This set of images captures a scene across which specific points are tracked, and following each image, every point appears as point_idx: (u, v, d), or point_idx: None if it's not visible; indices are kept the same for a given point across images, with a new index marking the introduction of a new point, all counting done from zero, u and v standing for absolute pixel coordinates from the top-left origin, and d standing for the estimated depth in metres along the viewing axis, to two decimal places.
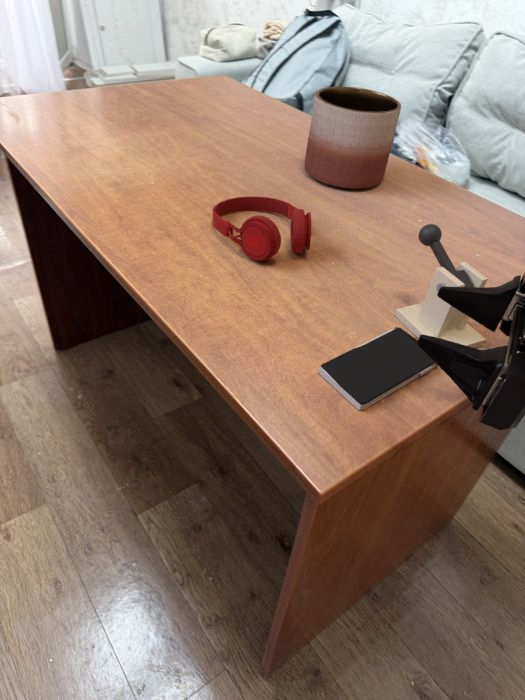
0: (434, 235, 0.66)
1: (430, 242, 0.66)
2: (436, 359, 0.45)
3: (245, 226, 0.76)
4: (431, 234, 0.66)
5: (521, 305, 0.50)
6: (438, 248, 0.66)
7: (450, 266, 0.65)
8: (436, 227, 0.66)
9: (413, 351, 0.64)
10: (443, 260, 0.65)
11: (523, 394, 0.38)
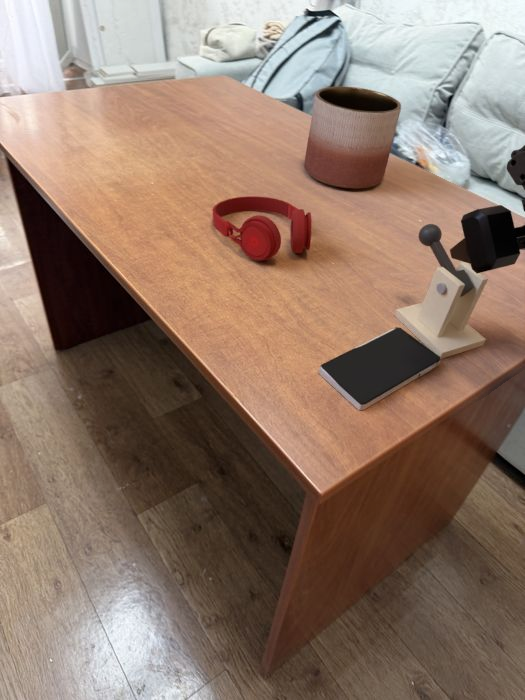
0: (434, 235, 0.66)
1: (430, 242, 0.66)
2: (462, 258, 0.56)
3: (245, 226, 0.76)
4: (431, 234, 0.66)
5: None
6: (438, 248, 0.66)
7: (450, 266, 0.65)
8: (436, 227, 0.66)
9: (413, 351, 0.64)
10: (443, 260, 0.65)
11: (474, 221, 0.48)
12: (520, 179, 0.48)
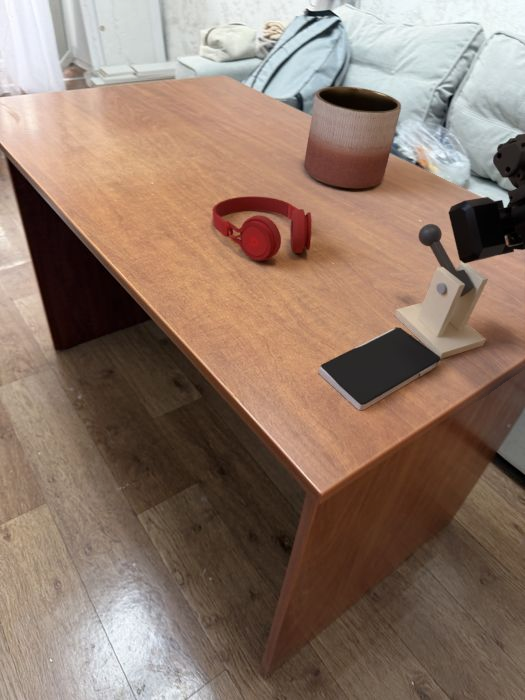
0: (434, 235, 0.66)
1: (430, 242, 0.66)
2: None
3: (245, 226, 0.76)
4: (431, 234, 0.66)
5: None
6: (438, 248, 0.66)
7: (450, 266, 0.65)
8: (436, 227, 0.66)
9: (413, 351, 0.64)
10: (443, 260, 0.65)
11: (461, 212, 0.50)
12: (506, 171, 0.50)
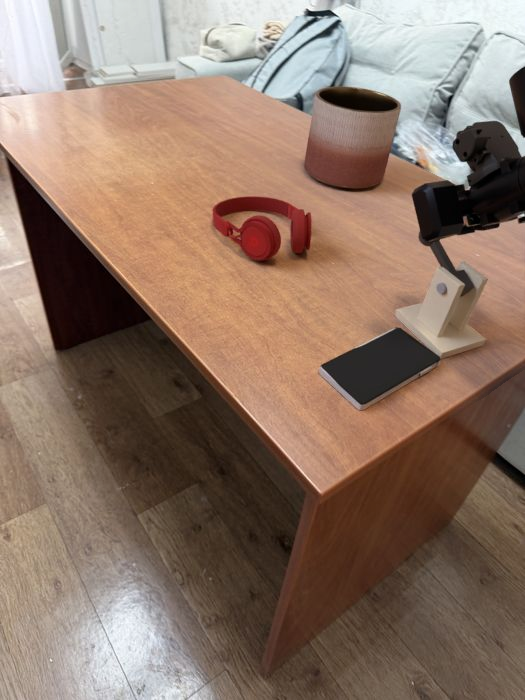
0: None
1: (430, 242, 0.66)
2: None
3: (245, 226, 0.76)
4: None
5: None
6: (438, 248, 0.66)
7: (450, 266, 0.65)
8: None
9: (413, 351, 0.64)
10: (443, 260, 0.65)
11: (422, 194, 0.54)
12: (463, 156, 0.54)
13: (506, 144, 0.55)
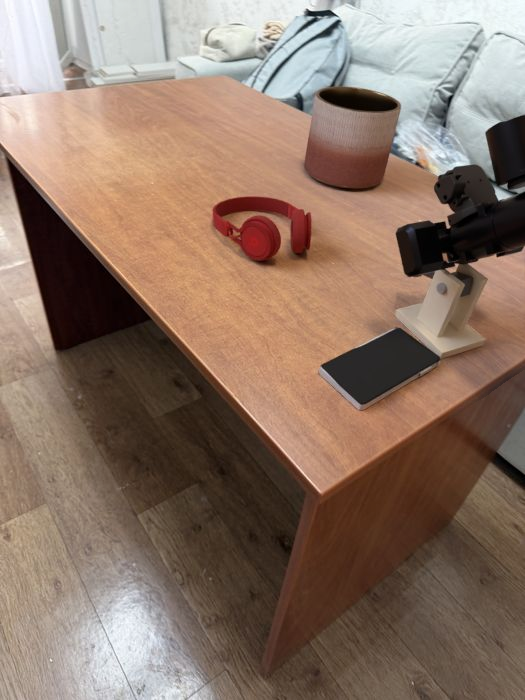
0: None
1: None
2: None
3: (245, 226, 0.76)
4: None
5: None
6: None
7: None
8: None
9: (413, 351, 0.64)
10: None
11: (405, 234, 0.58)
12: (443, 199, 0.58)
13: (484, 187, 0.58)
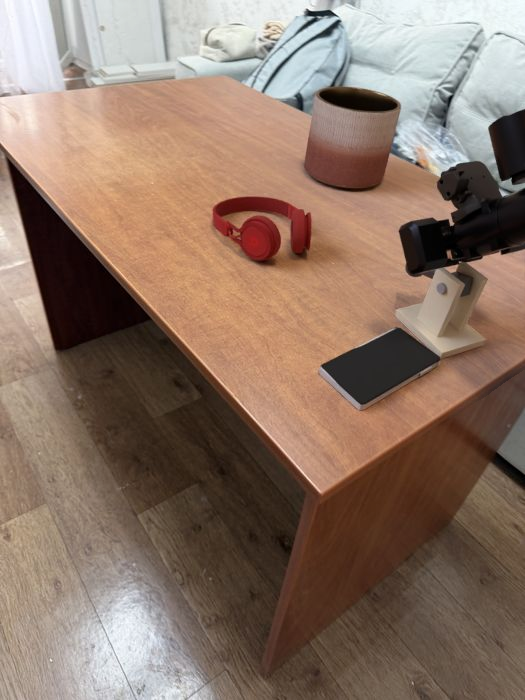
0: None
1: None
2: None
3: (245, 226, 0.76)
4: None
5: None
6: None
7: None
8: None
9: (413, 351, 0.64)
10: None
11: (408, 231, 0.57)
12: (447, 195, 0.57)
13: (487, 184, 0.58)
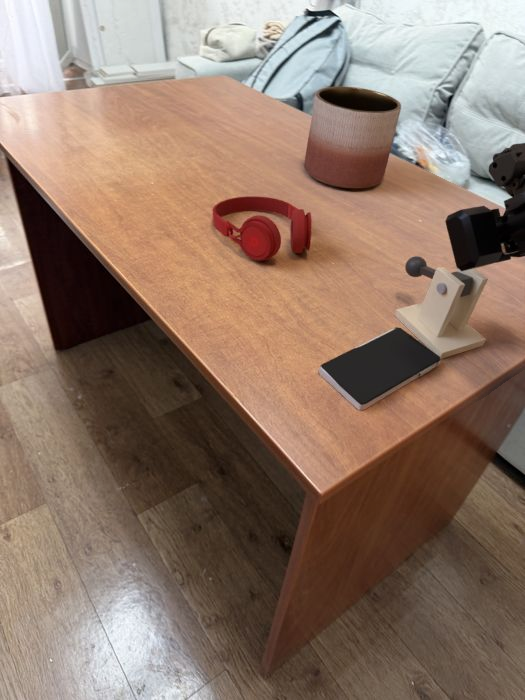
0: (417, 261, 0.70)
1: (417, 268, 0.70)
2: None
3: (245, 226, 0.76)
4: (414, 261, 0.70)
5: None
6: (426, 269, 0.69)
7: None
8: (417, 256, 0.70)
9: (413, 351, 0.64)
10: None
11: (457, 221, 0.50)
12: (501, 180, 0.50)
13: None
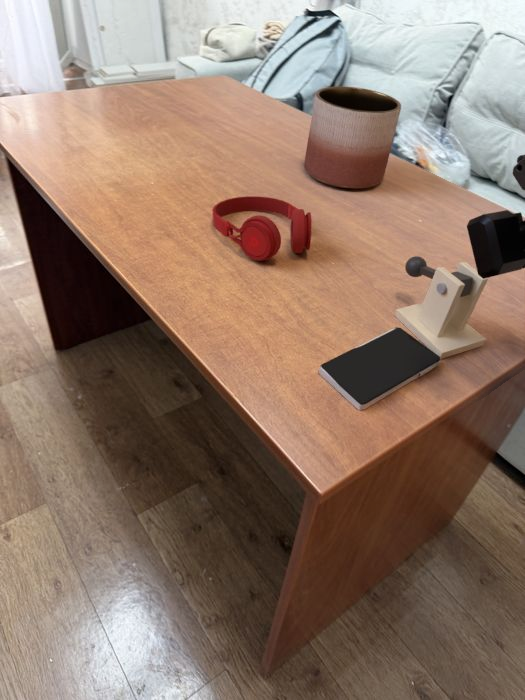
0: (417, 261, 0.70)
1: (417, 268, 0.70)
2: None
3: (245, 226, 0.76)
4: (414, 261, 0.70)
5: None
6: (426, 269, 0.69)
7: None
8: (417, 256, 0.70)
9: (413, 351, 0.64)
10: None
11: (480, 226, 0.48)
12: None
13: None
